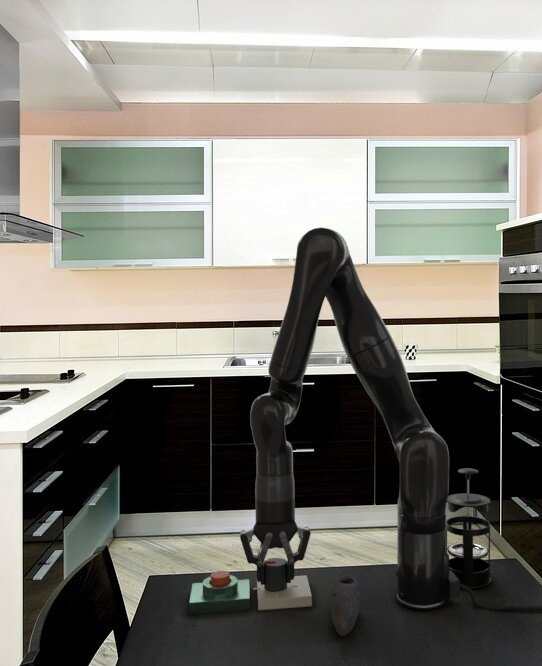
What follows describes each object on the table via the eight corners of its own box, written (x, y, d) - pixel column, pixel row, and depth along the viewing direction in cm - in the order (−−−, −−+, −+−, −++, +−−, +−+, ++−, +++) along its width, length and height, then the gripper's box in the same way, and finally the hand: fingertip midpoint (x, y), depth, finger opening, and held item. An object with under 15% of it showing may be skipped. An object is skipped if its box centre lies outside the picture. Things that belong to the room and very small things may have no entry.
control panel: (306, 584, 137) (306, 574, 137) (311, 606, 127) (311, 595, 127) (252, 588, 135) (252, 578, 135) (253, 610, 125) (253, 599, 125)
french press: (492, 592, 133) (493, 476, 132) (444, 589, 134) (444, 475, 134) (489, 569, 145) (489, 463, 144) (444, 567, 146) (445, 461, 145)
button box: (249, 590, 135) (249, 570, 134) (249, 610, 126) (249, 588, 126) (192, 594, 133) (192, 574, 133) (189, 614, 124) (188, 593, 124)
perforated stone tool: (356, 645, 112) (355, 604, 112) (324, 644, 113) (324, 603, 113) (362, 605, 127) (362, 569, 127) (334, 604, 128) (334, 568, 128)
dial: (286, 582, 134) (286, 555, 133) (287, 591, 129) (287, 563, 129) (263, 583, 133) (263, 556, 133) (264, 592, 128) (264, 565, 128)
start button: (230, 578, 131) (229, 570, 131) (229, 586, 128) (229, 577, 128) (211, 580, 131) (211, 571, 131) (210, 587, 127) (210, 578, 127)
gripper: (237, 502, 125) (238, 593, 126) (314, 498, 128) (314, 587, 128) (237, 491, 133) (238, 577, 133) (310, 488, 135) (310, 572, 136)
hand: (275, 581), depth 131 cm, fingers closed on dial, 4 cm apart
